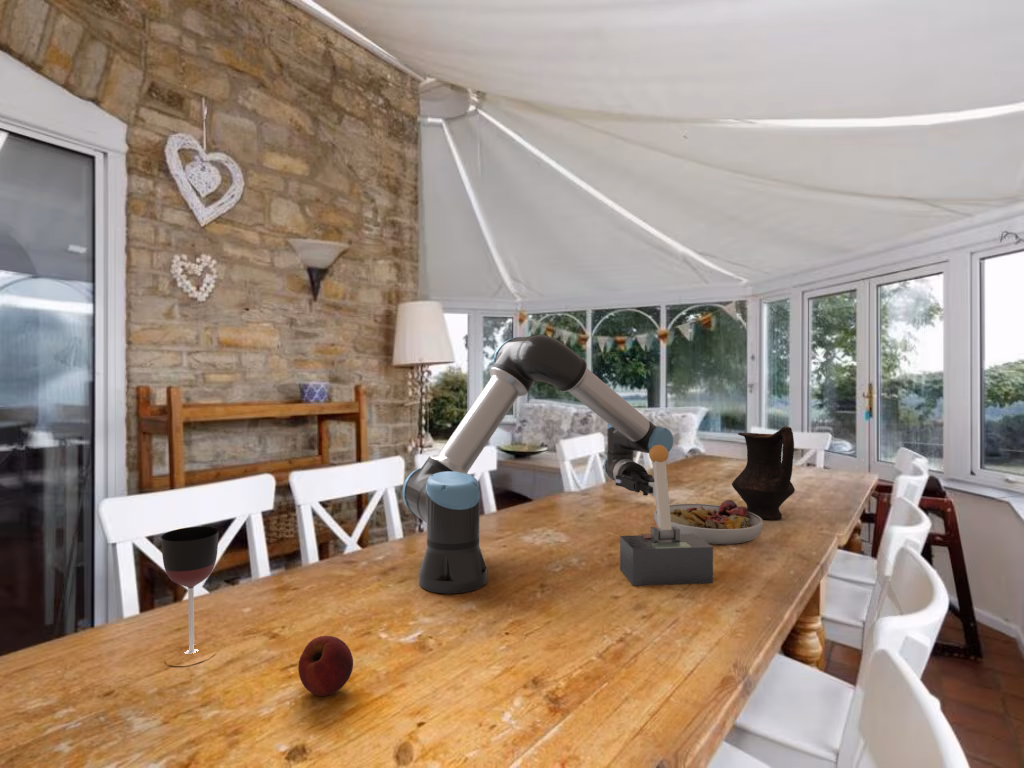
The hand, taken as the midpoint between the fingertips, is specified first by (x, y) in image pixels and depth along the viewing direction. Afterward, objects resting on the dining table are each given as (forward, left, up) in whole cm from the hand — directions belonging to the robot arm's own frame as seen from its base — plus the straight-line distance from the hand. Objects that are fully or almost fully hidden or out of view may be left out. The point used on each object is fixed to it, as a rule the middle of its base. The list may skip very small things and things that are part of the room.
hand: (661, 493), depth 130 cm
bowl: (+37, +14, -19) cm, 43 cm away
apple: (-79, -5, -18) cm, 82 cm away
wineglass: (-94, +18, -18) cm, 98 cm away
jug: (+66, +13, -18) cm, 69 cm away
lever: (-2, -3, -10) cm, 10 cm away
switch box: (-2, -3, -18) cm, 19 cm away
